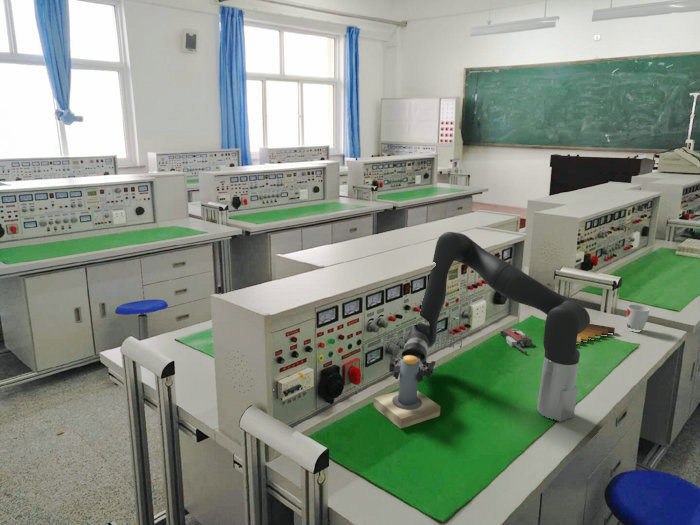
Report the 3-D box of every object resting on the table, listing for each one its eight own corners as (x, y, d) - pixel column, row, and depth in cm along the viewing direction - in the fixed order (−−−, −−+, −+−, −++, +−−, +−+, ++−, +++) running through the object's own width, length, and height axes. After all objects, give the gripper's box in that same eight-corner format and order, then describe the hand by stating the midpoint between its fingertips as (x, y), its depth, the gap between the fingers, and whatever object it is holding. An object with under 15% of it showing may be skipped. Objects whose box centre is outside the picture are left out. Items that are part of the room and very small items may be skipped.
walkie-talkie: (494, 335, 216) (523, 356, 198) (496, 325, 215) (524, 345, 197) (514, 333, 219) (544, 354, 200) (515, 323, 218) (545, 343, 199)
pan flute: (613, 334, 223) (549, 323, 233) (614, 326, 222) (550, 315, 232) (616, 356, 201) (545, 343, 210) (617, 348, 200) (546, 335, 209)
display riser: (439, 415, 155) (440, 405, 154) (400, 428, 147) (401, 417, 147) (411, 395, 165) (412, 386, 164) (373, 407, 158) (374, 396, 157)
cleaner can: (419, 402, 155) (423, 360, 152) (405, 407, 152) (408, 363, 149) (408, 394, 159) (412, 353, 156) (394, 398, 156) (397, 356, 153)
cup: (625, 325, 232) (629, 303, 229) (646, 330, 227) (651, 307, 225) (622, 330, 226) (626, 308, 223) (643, 335, 221) (648, 312, 219)
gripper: (392, 339, 167) (383, 361, 151) (439, 345, 164) (434, 368, 148) (391, 361, 169) (381, 386, 153) (437, 367, 166) (432, 393, 150)
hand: (407, 377), depth 151 cm, fingers open, 5 cm apart
